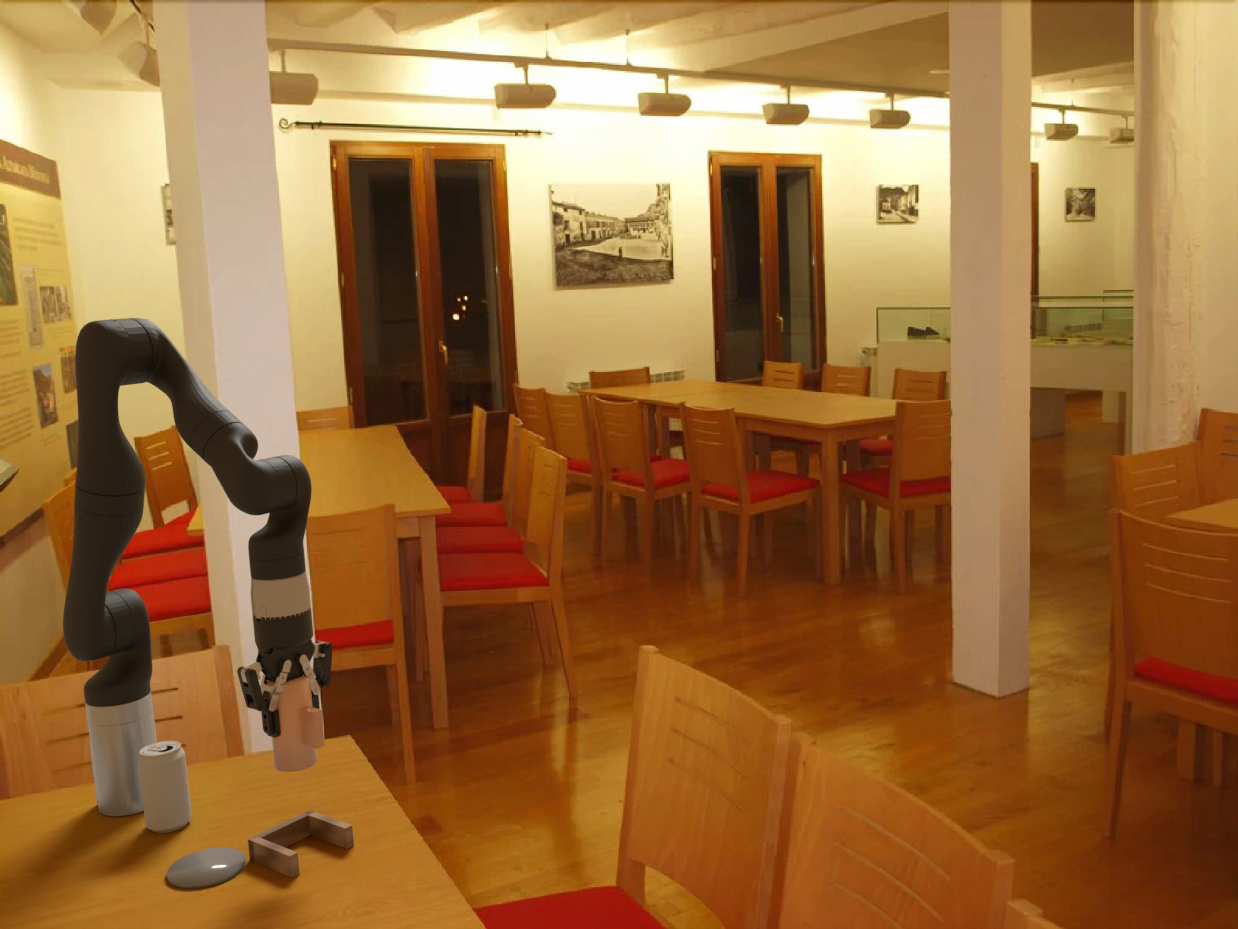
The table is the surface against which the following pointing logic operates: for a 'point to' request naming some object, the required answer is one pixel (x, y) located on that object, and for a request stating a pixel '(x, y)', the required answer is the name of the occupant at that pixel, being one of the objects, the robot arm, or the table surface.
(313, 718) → the peach cylinder with handle
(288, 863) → the wooden u-shaped frame
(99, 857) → the table surface
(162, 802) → the beverage can
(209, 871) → the grey dome disc
